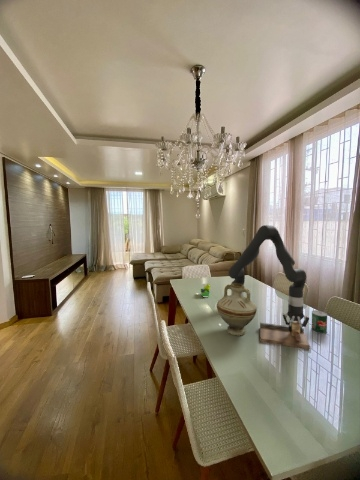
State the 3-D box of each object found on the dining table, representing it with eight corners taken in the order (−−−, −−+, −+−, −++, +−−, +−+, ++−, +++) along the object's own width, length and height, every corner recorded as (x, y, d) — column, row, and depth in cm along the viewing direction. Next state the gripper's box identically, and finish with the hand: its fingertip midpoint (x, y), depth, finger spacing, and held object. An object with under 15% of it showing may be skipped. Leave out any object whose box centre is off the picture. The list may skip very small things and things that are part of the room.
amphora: (262, 341, 120) (266, 289, 119) (223, 342, 116) (226, 289, 115) (243, 324, 143) (246, 280, 143) (210, 324, 139) (212, 279, 139)
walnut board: (260, 341, 118) (260, 334, 118) (260, 328, 133) (260, 321, 133) (309, 349, 110) (309, 341, 110) (302, 333, 125) (303, 327, 125)
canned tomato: (323, 335, 123) (323, 317, 122) (308, 329, 130) (309, 312, 129) (329, 331, 127) (329, 313, 126) (315, 325, 134) (315, 309, 133)
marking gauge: (293, 341, 114) (294, 329, 113) (290, 330, 125) (290, 319, 124) (302, 343, 112) (302, 330, 112) (298, 331, 124) (298, 320, 123)
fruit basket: (200, 293, 200) (200, 282, 199) (209, 293, 199) (209, 282, 198) (201, 298, 188) (201, 286, 187) (211, 298, 188) (210, 285, 187)
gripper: (282, 304, 119) (282, 333, 120) (311, 307, 114) (310, 337, 115) (281, 299, 126) (280, 327, 127) (308, 302, 121) (307, 330, 122)
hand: (295, 332), depth 121 cm, fingers closed on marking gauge, 4 cm apart
